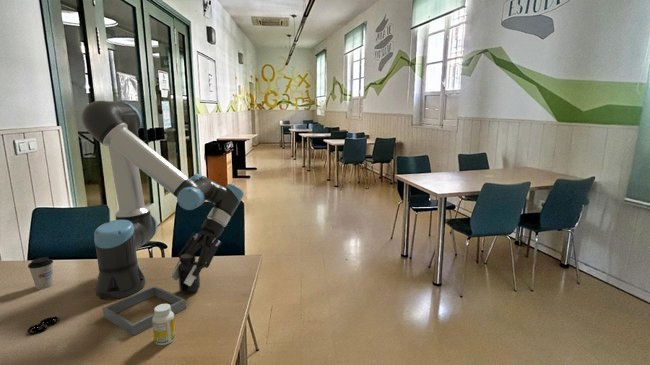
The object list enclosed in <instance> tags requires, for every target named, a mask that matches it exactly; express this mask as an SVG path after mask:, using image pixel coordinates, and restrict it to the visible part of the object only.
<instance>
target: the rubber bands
mask: <svg viewBox="0 0 650 365" xmlns="http://www.w3.org/2000/svg"><path fill="white" fill-rule="evenodd" d="M53 319H54V320H53ZM55 319H56V320H55ZM58 320H59V317H58V316H51V317H47V318H45V319H42V320H41V321H39V323H37V324H34V325H32V326H30V327H29V328H28V329H27V333H28V334H29V335H35V333H36V334H39V333H42V331H43V332H45V331H47V330H48V327H51V326H54V325H55V324H56V323H57V322H58ZM43 322H44V323H43ZM43 324H44V325H43ZM34 327H35V328H34ZM37 327H38V328H37ZM32 328H33V329H32ZM30 330H31V331H30ZM38 332H39V333H38Z"/></svg>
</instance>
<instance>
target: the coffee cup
mask: <svg viewBox="0 0 650 365" xmlns="http://www.w3.org/2000/svg"><path fill="white" fill-rule="evenodd" d="M53 262H54V261H53V259H52V258H49V256H43V257H37V258H35V259H33V260H31V262H30V263H28V265H27V268H28V269H29V271H30V274H31V278H32V280H33V282H34V286H35V289H36V288H37V289H36V290H45V289H48V288H50V287H52V286H53V285H54V284H53Z"/></svg>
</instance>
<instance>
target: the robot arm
mask: <svg viewBox="0 0 650 365" xmlns="http://www.w3.org/2000/svg"><path fill="white" fill-rule="evenodd" d="M81 121H82V125H83V127H84V129H85V130H86V131H87V132H88V134H90V136H92V137H93V138H94V139H95V140H96V141H98V142H99V143H101V144H102V145H104V147H108V153H109V159H110V165H111V169H112V170H111V171H112V175H113V183H114V187H115V188H114V189H115V193H116V199H117V206H118V210H117V212H115V214H114V216H115V220H110V221H109V222H105V223H102V224H101V225H99V226H97V228H96V229H95V230H94V234H93V235H94V236H93V237H94V239H93V242H94V245H95V250H96V260H97V264H98V265H97V267H98V275H97V279H96V284H95V286H94V290H95V291H94V292H95V295H96V296H97V298H99V299H104V300H115V299H119V298H120V299H121V298H125V297H129V296H132V295H134V294H137V293H139V292H140V291H142V289H143V288H144V287H145V286H146V278H145V275H144V273H143V271H142V269H141V268H140V265H139V264H138V254H137V250H139V249H140V248H142V246H144V245H145V244H147V243H148V242H150V241H151V240H152V239H153V238H154V237H155V235H156V233H157V231H158V221H157V219H156V218H155V216H153V214H152V213H151V210H150V208H149V207H147V206H146V204H145V199H144V192H143V185H142V180H141V173H140V170H141V171H142V172H143V173H145V174H146V175H147V176H149V177H150V178H151V179H152V180H154V181H155V182H157V183H158V184H159V185H160V186H161V187H163V188H164V189H165V190H166V191H167V192H169V193H170V194H172V195H173V196H174V197H175V198H176V201H177V204H178V205H179V207H180V208H182V209H183V210H186V211H193V210H195V209H196V208H199V207H200V206H202V205H203V204H204V203H205V202H208V203H210V204H212V205H213V207H212V208H211V210H210V211H209V212H208V215H207V216H206V219H205V220H204V221H203V223H202V224H201V230H200V231H199V232H198V233H195V232H192V233H191V235H190V237H189V239H188V240H187V241H186V242H185V245H184V246H183V247H182V248H181V250H180V251H179V252H178V254H177V257H178V258H179V260H178V262H177V264H176V265H175V268H174V270H173V272H172V273H171V275H170V276H169V277H170V279H172V280H174V281H176V282H177V281H178V280H179V279H178V265H179V264H180V263H181V262H180V256H181V255H183V254H188V253H193V254H195V253H196V252H197V251H198V250H199V249H201V250H200V253H199V257H198V260H197V261H196V262H197V263H195V264H196V265H197V266H196V265H194V266H193V268H192V270H191V271H190V273H189V275H188V276H187V278H186V280H185V281H184V283H185V284H186V285H188V286H191V285H192V283H193V281H194V280H195V278H196V277H197V276H198V275H200V273H201V271H202V270H203V269H204V268H206V269H208V268H209V267H210V265H211V263H212V261H213V259H214V256H215V254H216V252H217V251H218V248H220V246H221V244H222V242H221V241H220V240H219V239H218V238H219V237H220V236H222V234H223V232H224V230H225V227H226V226H228V223H229V222H230V220H231V218H232V216H233V215H234V213H235V212H236V210H237V208H238V206H239V205H240V203H241V201H242V199H243V197H244V194H245V193H244V191H243V189H242V188H241V187H239V186H237V185H235V184H232V183H228V184H226V186H223V185H221V184H220V183H217V182H216V181H214V180H212V179H210V178H208V177H207V176H205V175H202V174H199V173H195V174H193V176H191V178H190V177H188V176H187V175H186V174H184V173H183V172H182V171H181V170H180V169H178V168H177V167H176V166H175V165H173V163H171V162H170V161H168V160H167V159H166V158H164V156H162V155H161V154H159V153H158V152H157V151H155V150H154V149H153V148H152V147H151V146H149V145H148V144H147V143H145V142H144V141H143V140H142V139H141V138H140V136H139V130H140V128H142V127H141V126H142V124H143V123H142V122H143V121H142V116H141V113H140V112H139V111H138V109H137V108H136V107H135V106H134V105H132V104H130V103H127V102H123V101H118V100H116V101H108V100H95V101H92V102H90V103H88V104H87V105H86V106H85V107H84V108H83V110H82V113H81Z"/></svg>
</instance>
